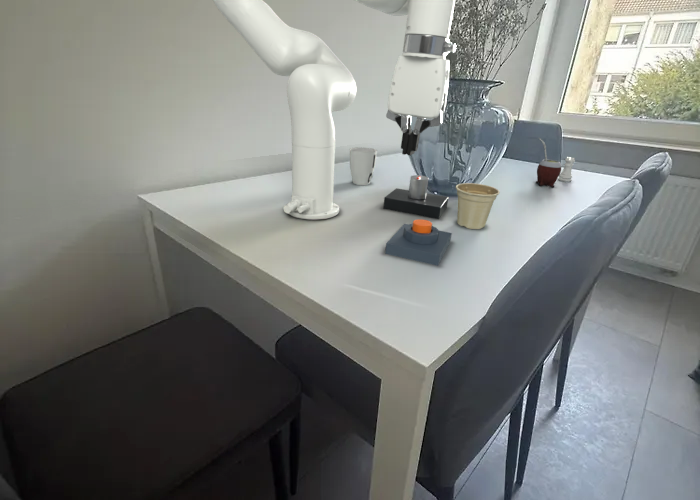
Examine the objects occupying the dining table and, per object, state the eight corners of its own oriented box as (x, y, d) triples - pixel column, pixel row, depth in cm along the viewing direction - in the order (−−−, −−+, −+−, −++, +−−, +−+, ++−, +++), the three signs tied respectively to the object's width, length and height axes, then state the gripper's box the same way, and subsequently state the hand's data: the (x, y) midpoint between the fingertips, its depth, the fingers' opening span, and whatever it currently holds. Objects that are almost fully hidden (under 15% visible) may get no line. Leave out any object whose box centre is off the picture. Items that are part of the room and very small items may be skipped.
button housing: (438, 266, 70) (441, 245, 68) (385, 253, 73) (387, 234, 71) (450, 242, 80) (453, 224, 78) (403, 233, 83) (405, 215, 81)
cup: (374, 187, 115) (377, 153, 111) (347, 185, 115) (349, 151, 111) (373, 180, 122) (376, 148, 118) (348, 178, 122) (349, 146, 118)
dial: (410, 193, 100) (413, 173, 98) (427, 196, 99) (430, 175, 97) (406, 197, 97) (408, 176, 94) (423, 200, 95) (426, 179, 93)
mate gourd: (560, 186, 129) (573, 140, 123) (547, 189, 125) (560, 141, 119) (539, 181, 135) (551, 136, 128) (526, 183, 130) (538, 137, 124)
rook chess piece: (558, 178, 140) (564, 155, 137) (572, 180, 138) (578, 157, 135) (556, 180, 137) (562, 157, 134) (570, 182, 135) (577, 159, 131)
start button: (428, 236, 73) (429, 227, 72) (409, 232, 74) (411, 223, 73) (432, 229, 76) (434, 221, 75) (414, 226, 77) (415, 218, 76)
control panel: (446, 208, 101) (448, 196, 100) (438, 219, 92) (440, 207, 91) (395, 198, 106) (396, 188, 104) (383, 209, 97) (384, 197, 96)
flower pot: (467, 234, 84) (474, 196, 81) (441, 219, 92) (447, 184, 89) (500, 230, 88) (509, 193, 84) (473, 216, 96) (479, 182, 92)
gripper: (471, 53, 69) (450, 157, 77) (391, 47, 74) (379, 145, 82) (463, 50, 62) (441, 164, 70) (377, 43, 68) (365, 150, 76)
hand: (408, 153), depth 76 cm, fingers closed
